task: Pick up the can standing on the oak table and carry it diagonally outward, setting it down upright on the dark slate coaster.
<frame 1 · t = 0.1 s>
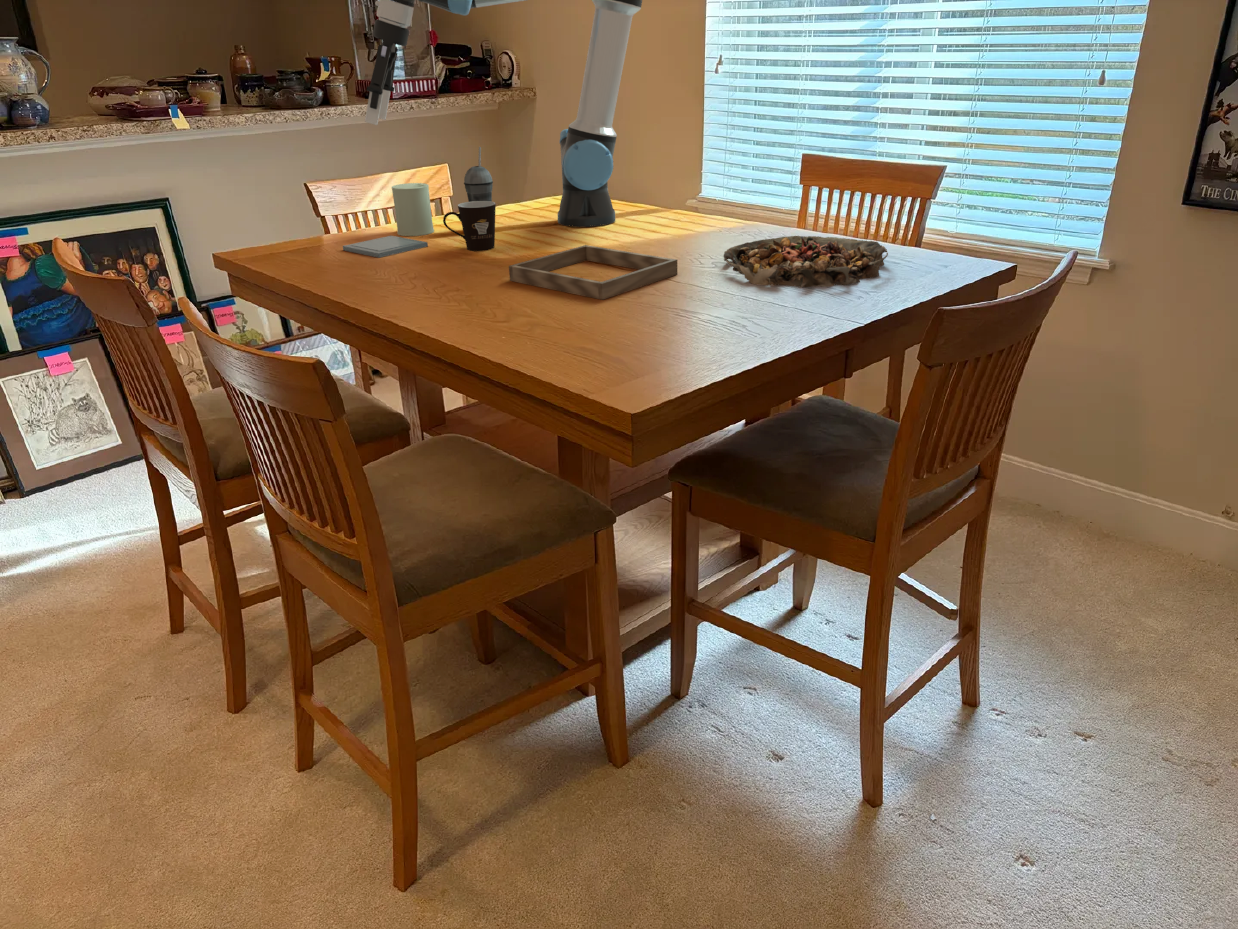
hand: (375, 120, 208), 28 cm above the table, fingers open, 13 cm apart
can: (415, 233, 229), on the table
coffee mug: (474, 248, 211), on the table
beverage cup: (482, 230, 230), on the table
slate coaster: (385, 248, 213), on the table
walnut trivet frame: (593, 277, 182), on the table
food dish: (806, 270, 185), on the table
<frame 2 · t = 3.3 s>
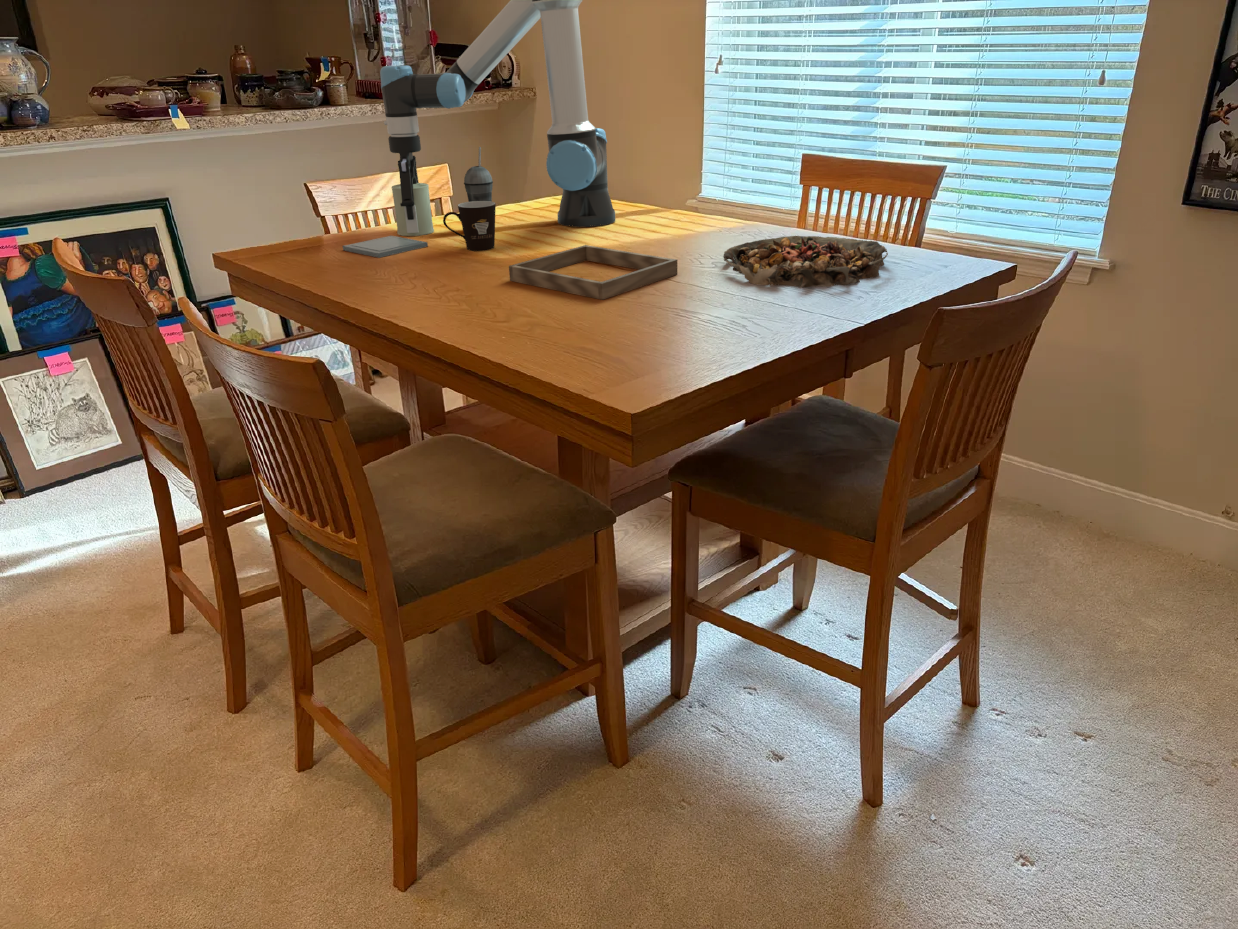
hand: (415, 228, 229), 1 cm above the table, fingers closed on can, 9 cm apart
can: (415, 233, 229), on the table, touching gripper
everything else where it was.
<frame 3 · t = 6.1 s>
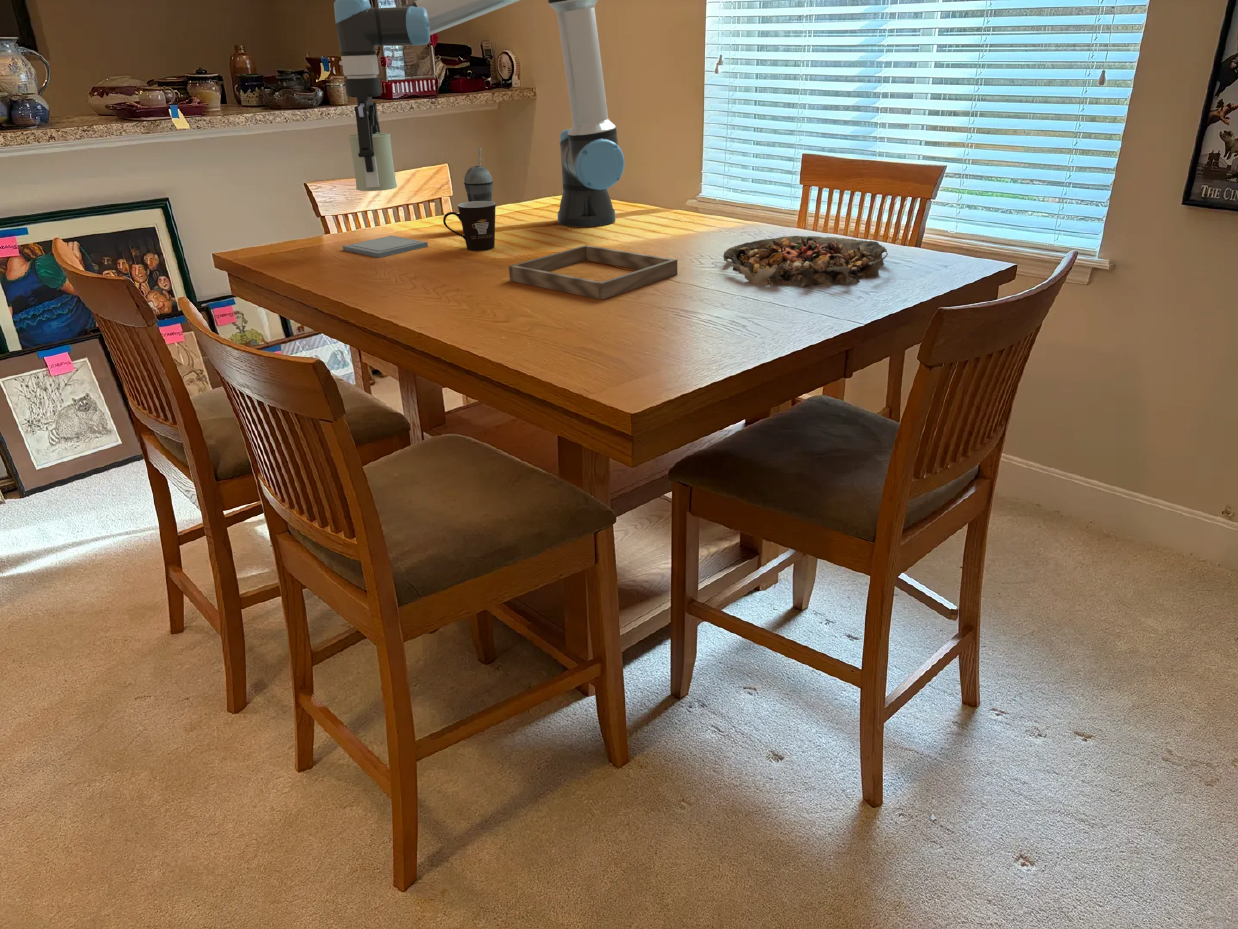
hand: (376, 183, 207), 15 cm above the table, fingers closed on can, 9 cm apart
can: (376, 188, 207), point 14 cm above the table, touching gripper
everything else where it was.
when the fingers open (3 cm above the table, at t = 9.0 s): can stays where it is, resting on slate coaster.
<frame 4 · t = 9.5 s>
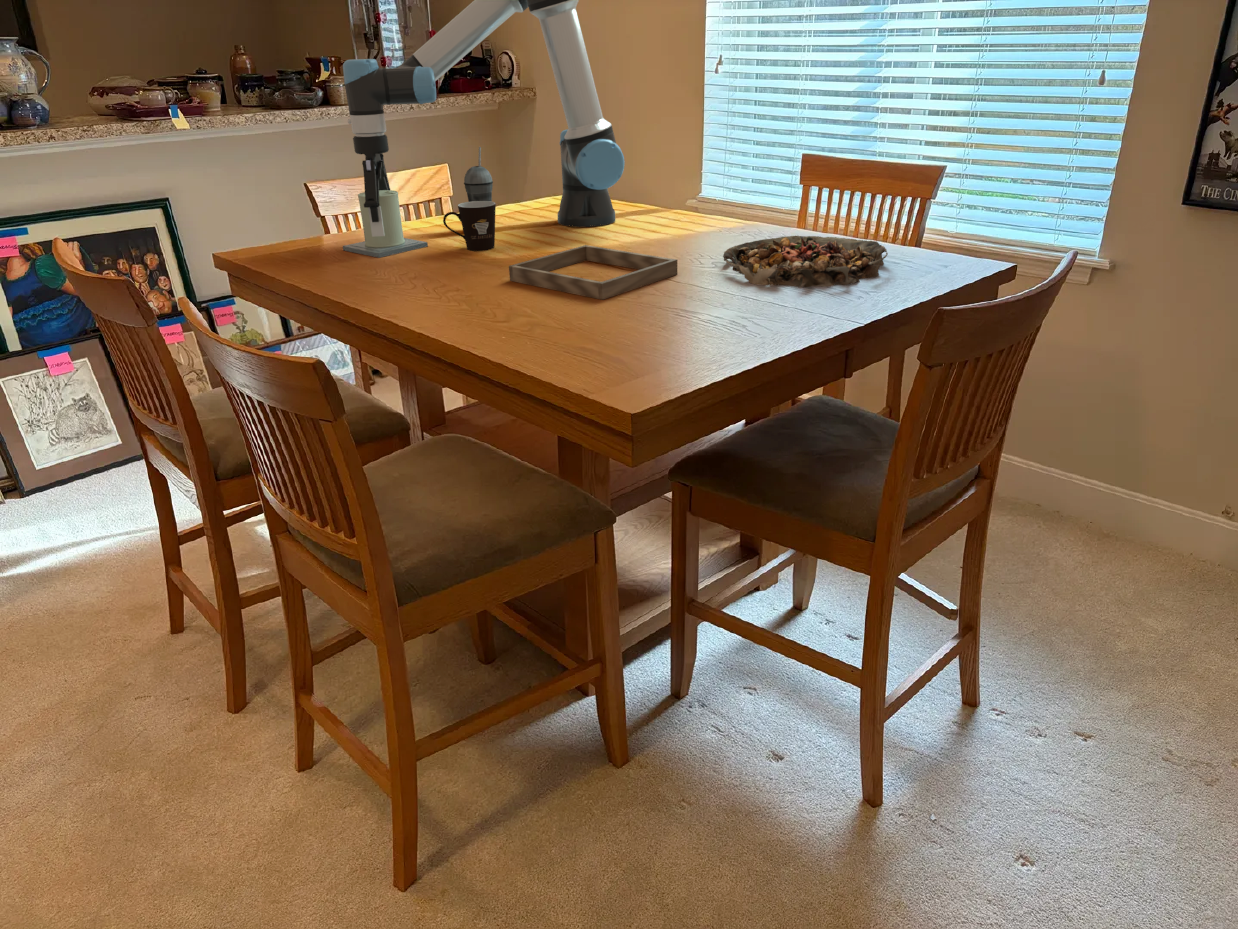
hand: (383, 230, 211), 4 cm above the table, fingers open, 13 cm apart
can: (385, 244, 213), point 1 cm above the table, touching slate coaster
everything else where it was.
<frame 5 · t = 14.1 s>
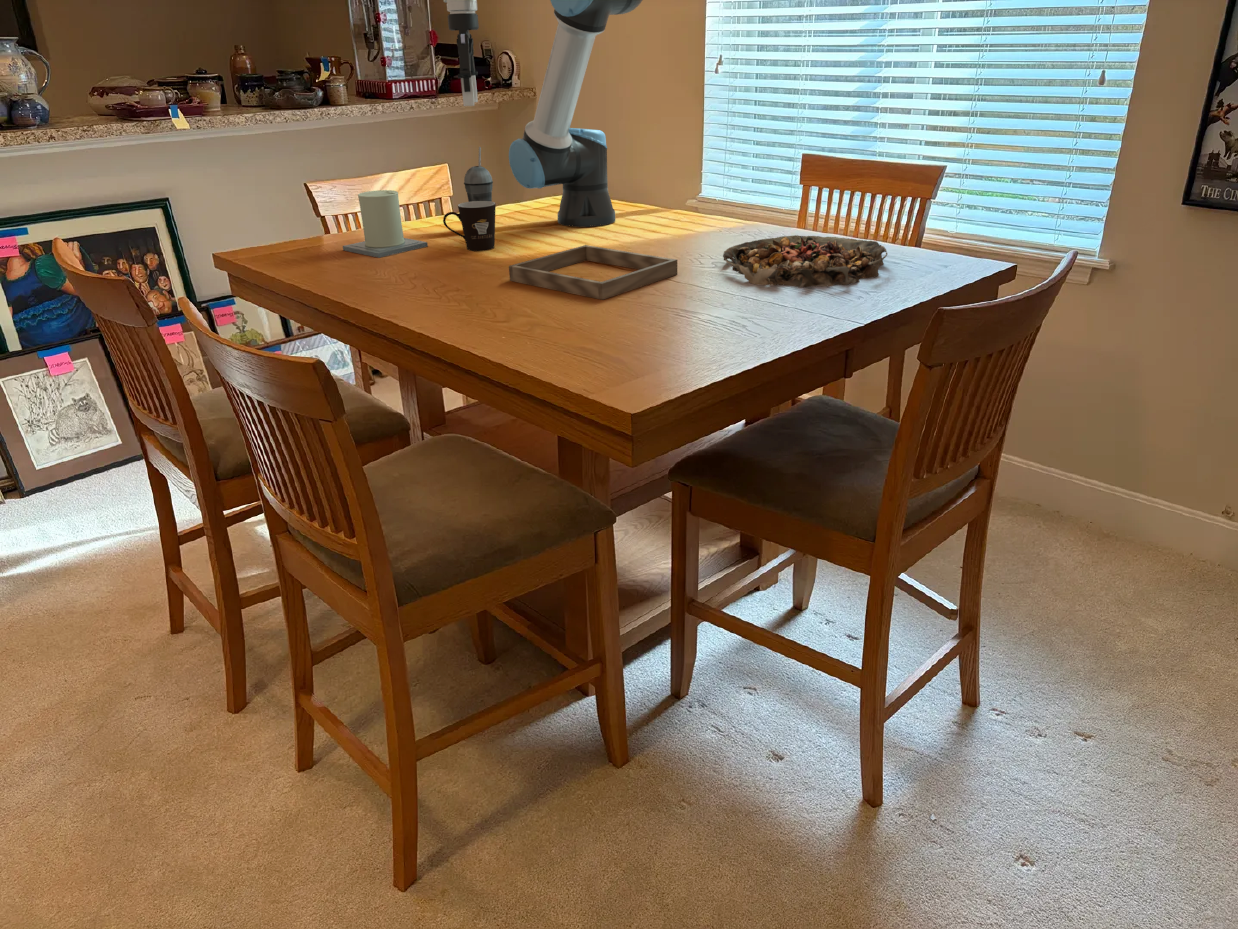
hand: (470, 104, 234), 29 cm above the table, fingers open, 13 cm apart
nothing on the table moved.
at the end: can inside the target area on the slate coaster (0.0 cm from its centre), point 0.9 cm above the slate coaster's base; can tilted 0°; the gripper is holding nothing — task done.
